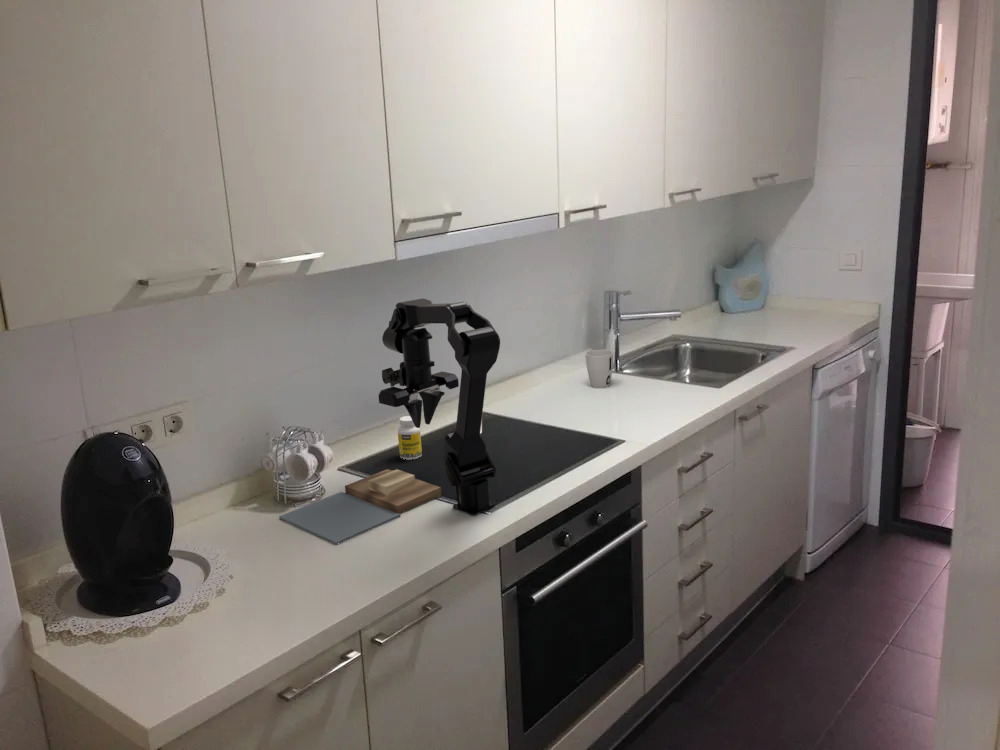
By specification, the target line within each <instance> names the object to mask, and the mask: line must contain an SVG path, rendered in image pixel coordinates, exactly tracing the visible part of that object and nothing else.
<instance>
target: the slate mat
mask: <svg viewBox="0 0 1000 750" xmlns="http://www.w3.org/2000/svg"><path fill="white" fill-rule="evenodd" d="M398 518H401V514H398V513H395V512H393V511H390V510H388V509H385V508H383V507H380V506H377V505H375V504H372V503H370V502H367V501H365V500H362V499H359V498H357V497H354V496H352V495H349V494H347V493H346V492H345V491H340V492H337V493H334V494H332V495H329V496H327V497H324V498H322V499H319V500H317V501H314V502H312V503H310V504H309V503H308V504H307V505H304V506H302V507H299V508H296V509H294V510H291V511H289V512H286V513H283V514H281V515H280V516H278V519H279V520H282V521H284V522H286V523H288V524H290V525H292V526H295V527H297V528H299V529H301V530H304V531H305V532H308V533H309V534H312V535H314V536H317V537H318V538H320V537H321V539H323V540H325V541H327V542H329V541H330V542H329V543H331V542H332V544H333V543H334V544H333V545H336V546H337V545H339V544H338V543H340V544H342V543H344V542H346V541H349V540H351V539H353V538H355V536H356V537H358V536H360V535H362V534H364V532H365V533H366V531H367V532H369V531H371V530H373V528H374V529H375V528H377V527H380V526H382V525H385V524H387V523H389V522H392V521H394V520H396V519H398ZM368 530H369V531H368ZM361 533H362V534H361ZM359 534H360V535H359ZM357 535H358V536H357ZM352 537H353V538H352ZM350 538H351V539H350ZM348 539H349V540H348ZM345 540H346V541H345ZM343 541H344V542H343ZM341 542H342V543H341Z"/></svg>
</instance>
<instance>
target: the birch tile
mask: <svg viewBox="0 0 1000 750" xmlns="http://www.w3.org/2000/svg"><path fill="white" fill-rule="evenodd" d="M415 479H416V477H415V474H412V473H409V472H406V471H403V470H400V469H397V468H396V469H394V470H392V471H391V472H389V473H386V474H384V475H381V476H379V477H376V478H374V479H371V480H368V484H369V489H370V490H372V491H375V492H378V493H380V494H383V495H386V496H387V495H390V494H392V493H395V492H397V491H399V490H402V489H404V488H407V487H409V486H411V485H414V484H415Z"/></svg>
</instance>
